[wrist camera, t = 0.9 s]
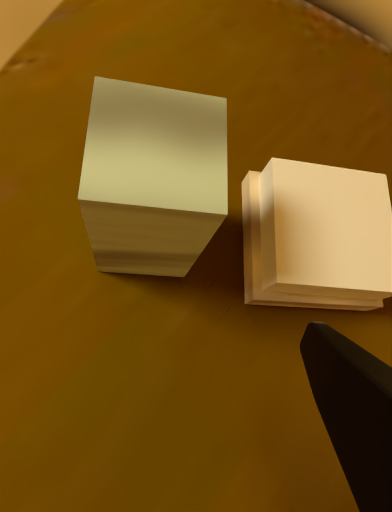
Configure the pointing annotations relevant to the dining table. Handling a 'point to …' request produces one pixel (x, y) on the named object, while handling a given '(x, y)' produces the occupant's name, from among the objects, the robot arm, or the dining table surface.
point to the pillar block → (152, 177)
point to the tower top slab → (325, 231)
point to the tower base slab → (253, 263)
